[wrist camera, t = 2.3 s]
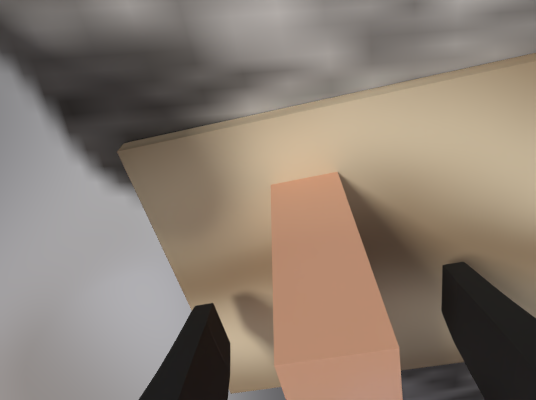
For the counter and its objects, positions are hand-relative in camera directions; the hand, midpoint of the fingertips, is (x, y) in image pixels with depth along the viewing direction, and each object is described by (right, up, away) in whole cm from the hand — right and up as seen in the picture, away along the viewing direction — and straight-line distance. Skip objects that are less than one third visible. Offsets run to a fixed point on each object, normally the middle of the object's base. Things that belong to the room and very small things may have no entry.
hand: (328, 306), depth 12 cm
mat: (+4, +2, +1) cm, 4 cm away
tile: (0, +1, +1) cm, 1 cm away
